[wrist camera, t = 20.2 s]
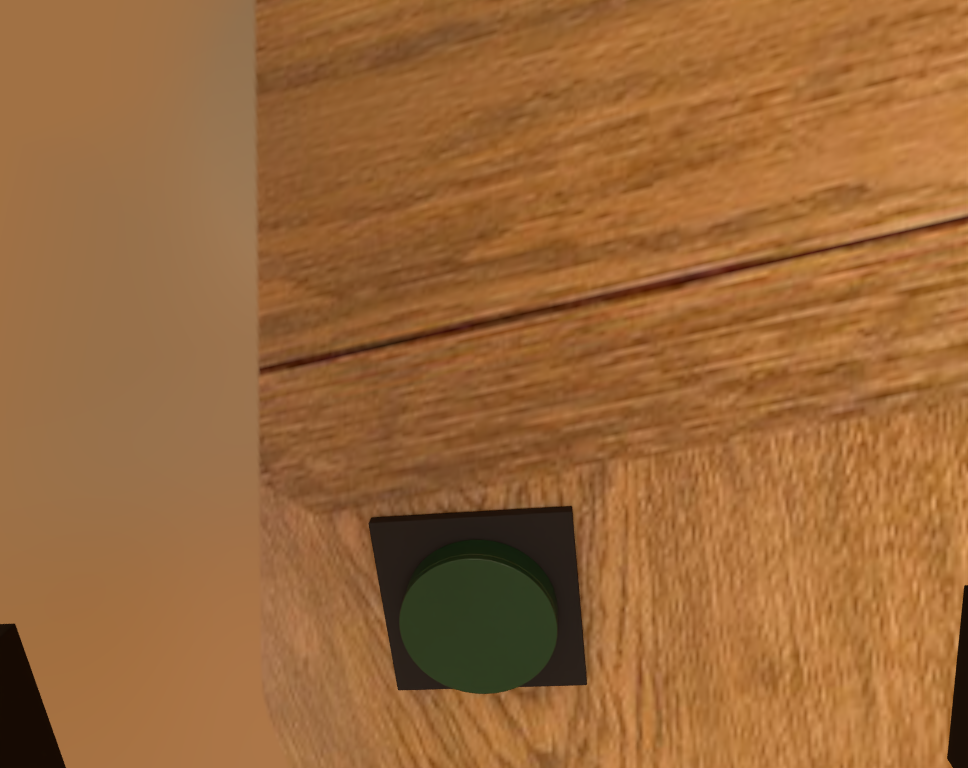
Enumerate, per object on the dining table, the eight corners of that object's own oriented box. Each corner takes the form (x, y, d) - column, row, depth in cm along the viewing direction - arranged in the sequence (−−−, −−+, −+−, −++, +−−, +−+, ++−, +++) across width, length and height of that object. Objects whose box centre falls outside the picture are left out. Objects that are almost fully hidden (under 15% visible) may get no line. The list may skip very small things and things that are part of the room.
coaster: (370, 517, 38) (368, 523, 37) (571, 505, 36) (572, 511, 36) (400, 683, 41) (397, 690, 40) (586, 677, 39) (587, 685, 39)
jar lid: (562, 669, 39) (562, 694, 37) (416, 672, 40) (409, 696, 38) (552, 536, 36) (551, 555, 35) (396, 542, 37) (389, 561, 36)
